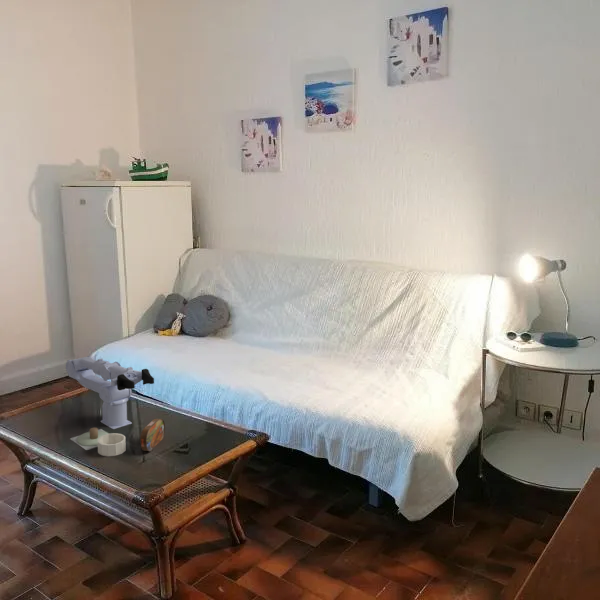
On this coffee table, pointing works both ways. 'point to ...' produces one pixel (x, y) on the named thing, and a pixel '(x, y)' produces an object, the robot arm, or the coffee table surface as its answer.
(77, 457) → the coffee table surface
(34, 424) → the coffee table surface
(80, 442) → the lid
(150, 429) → the tin
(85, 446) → the mat
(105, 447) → the bowl
